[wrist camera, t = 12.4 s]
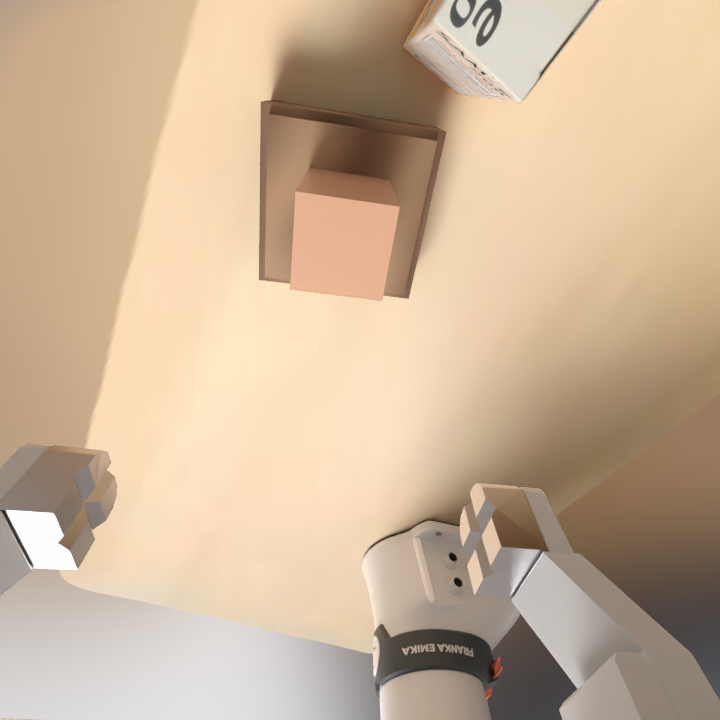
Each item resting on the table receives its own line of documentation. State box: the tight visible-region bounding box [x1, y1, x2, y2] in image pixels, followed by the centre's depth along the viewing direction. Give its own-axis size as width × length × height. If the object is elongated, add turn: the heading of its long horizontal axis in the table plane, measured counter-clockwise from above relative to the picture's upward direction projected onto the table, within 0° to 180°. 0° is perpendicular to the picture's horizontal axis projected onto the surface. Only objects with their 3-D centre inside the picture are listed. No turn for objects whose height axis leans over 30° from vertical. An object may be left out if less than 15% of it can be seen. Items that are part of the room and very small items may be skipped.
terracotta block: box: [290, 168, 400, 301], centre depth 24 cm, size 5×5×7 cm
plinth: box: [259, 100, 446, 299], centre depth 29 cm, size 11×11×4 cm
